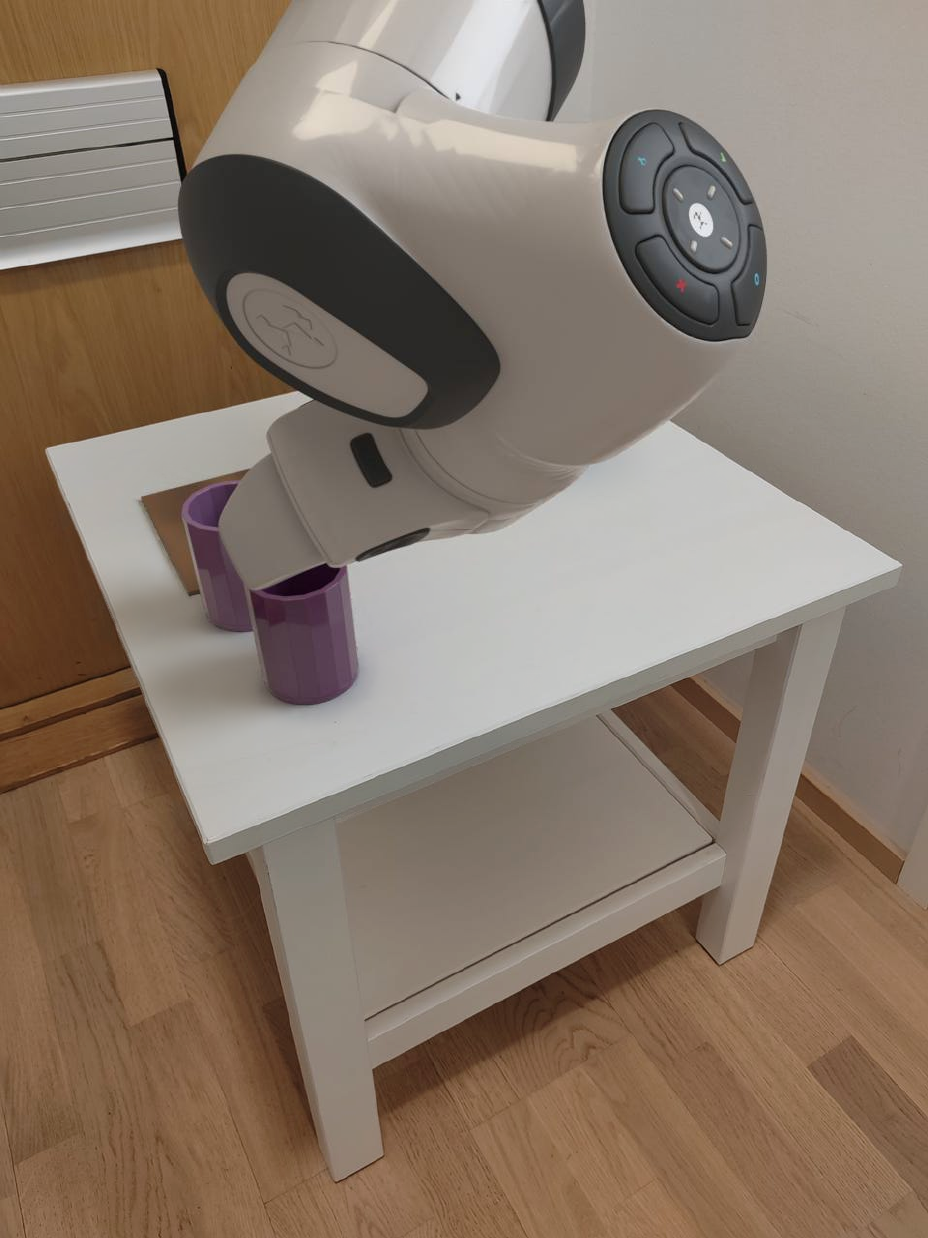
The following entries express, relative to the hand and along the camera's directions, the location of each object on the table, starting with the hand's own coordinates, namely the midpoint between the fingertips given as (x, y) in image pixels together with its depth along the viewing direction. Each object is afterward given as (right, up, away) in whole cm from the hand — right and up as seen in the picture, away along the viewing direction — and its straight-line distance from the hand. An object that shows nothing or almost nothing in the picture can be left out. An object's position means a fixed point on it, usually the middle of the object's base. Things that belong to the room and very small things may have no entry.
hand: (375, 520), depth 54 cm
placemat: (-14, +4, +38) cm, 41 cm away
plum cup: (-7, -10, +21) cm, 24 cm away
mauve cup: (-13, -4, +28) cm, 31 cm away
